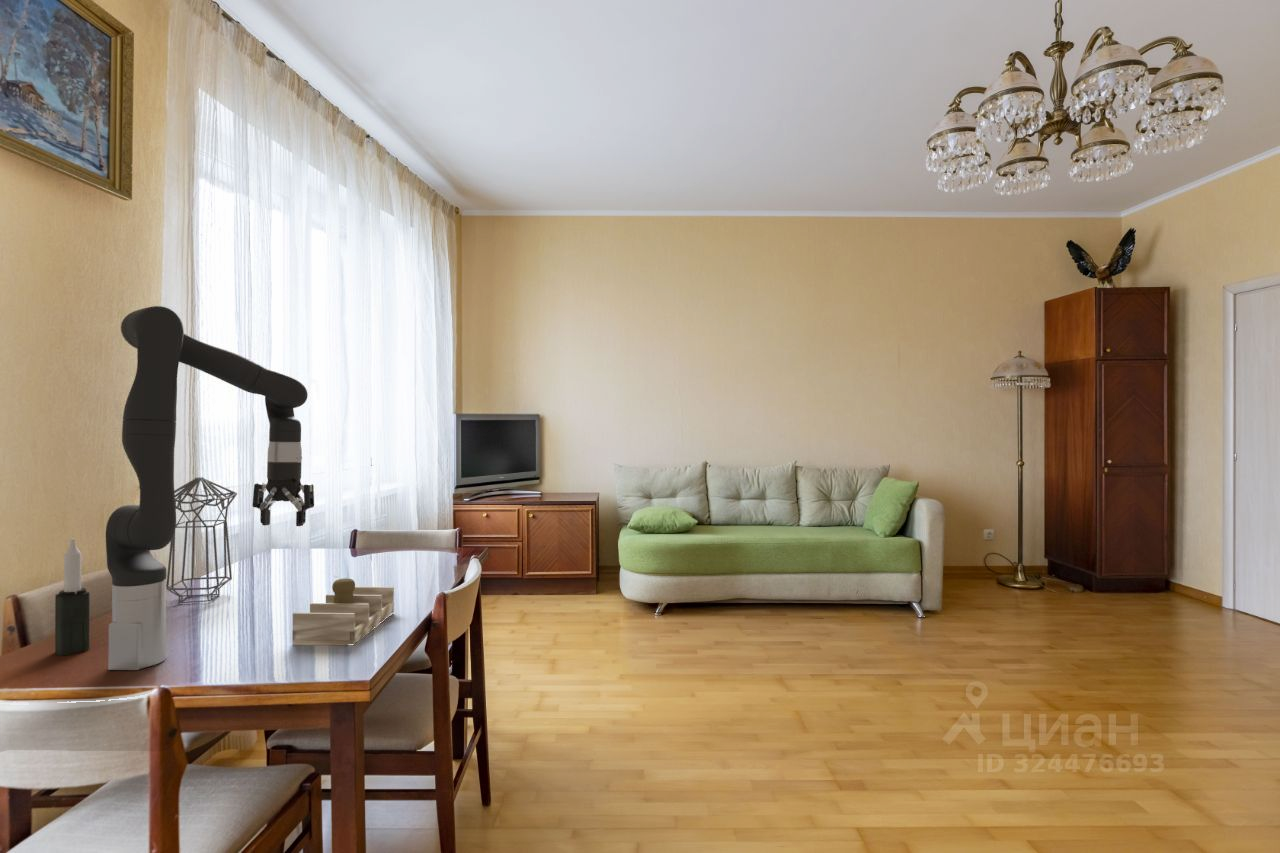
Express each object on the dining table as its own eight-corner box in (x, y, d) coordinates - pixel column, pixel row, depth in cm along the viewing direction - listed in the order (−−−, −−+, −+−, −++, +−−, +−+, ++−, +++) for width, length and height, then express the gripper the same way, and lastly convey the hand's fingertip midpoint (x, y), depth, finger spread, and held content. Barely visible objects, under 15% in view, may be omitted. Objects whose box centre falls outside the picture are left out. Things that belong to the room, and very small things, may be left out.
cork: (347, 627, 164) (347, 582, 164) (324, 626, 165) (325, 581, 165) (361, 620, 170) (361, 577, 170) (339, 619, 171) (340, 575, 171)
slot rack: (353, 645, 155) (353, 614, 155) (292, 644, 155) (292, 613, 155) (393, 614, 181) (393, 587, 181) (341, 613, 181) (341, 586, 181)
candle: (62, 656, 146) (62, 541, 146) (53, 652, 149) (53, 538, 149) (91, 649, 151) (91, 537, 151) (81, 645, 153) (82, 535, 153)
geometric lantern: (239, 591, 202) (240, 474, 202) (218, 606, 187) (219, 479, 187) (180, 594, 199) (180, 475, 199) (154, 608, 183) (154, 479, 183)
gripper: (247, 460, 165) (245, 527, 164) (304, 461, 164) (303, 528, 164) (265, 459, 172) (263, 523, 172) (320, 460, 172) (318, 524, 171)
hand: (282, 525), depth 168 cm, fingers open, 8 cm apart
